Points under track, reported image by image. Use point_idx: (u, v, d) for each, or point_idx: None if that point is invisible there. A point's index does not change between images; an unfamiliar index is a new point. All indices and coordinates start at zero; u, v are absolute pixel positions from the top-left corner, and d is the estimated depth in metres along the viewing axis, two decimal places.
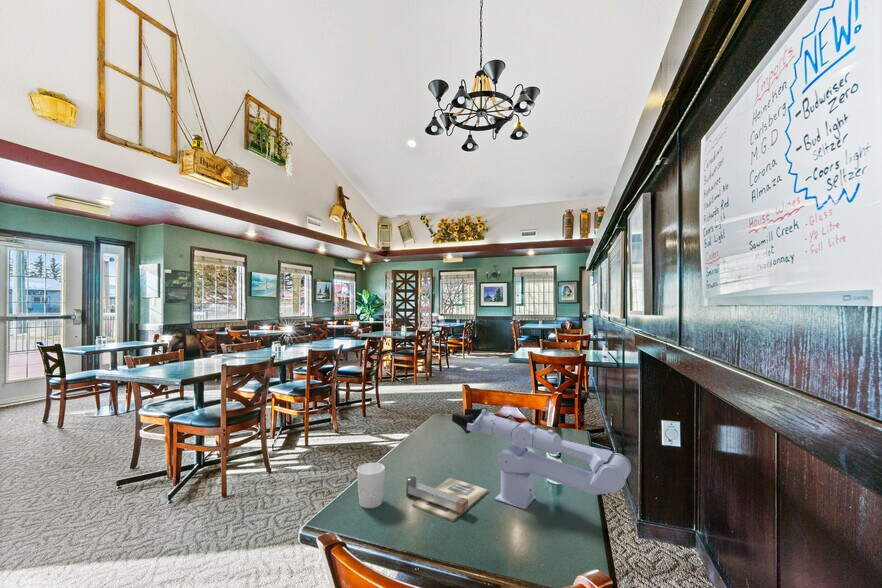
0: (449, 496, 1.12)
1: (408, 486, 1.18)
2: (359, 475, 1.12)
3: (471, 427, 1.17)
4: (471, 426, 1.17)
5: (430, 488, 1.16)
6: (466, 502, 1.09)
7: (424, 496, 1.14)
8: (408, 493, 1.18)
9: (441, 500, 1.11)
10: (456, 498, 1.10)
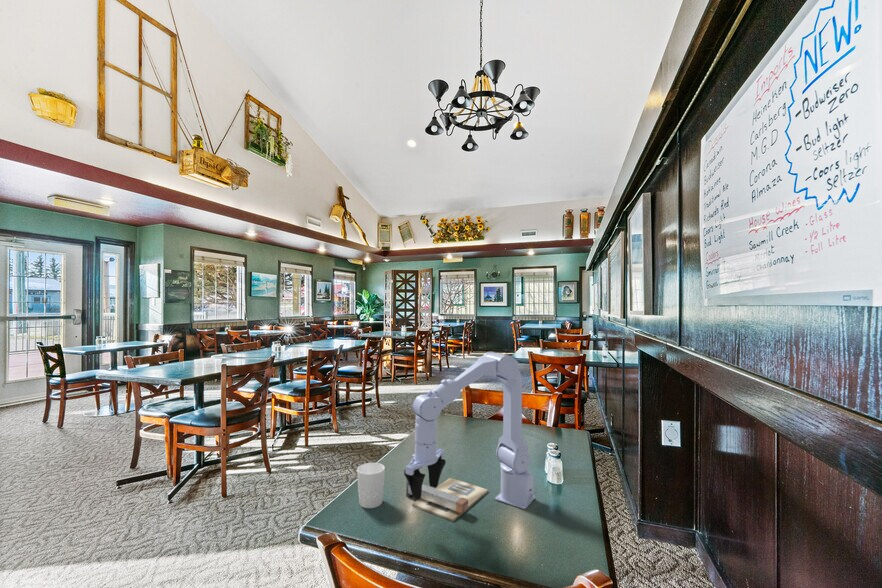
0: (449, 496, 1.12)
1: (408, 486, 1.18)
2: (359, 475, 1.12)
3: (407, 468, 0.99)
4: (406, 467, 0.99)
5: (430, 488, 1.16)
6: (466, 502, 1.09)
7: (424, 496, 1.14)
8: (408, 493, 1.18)
9: (441, 500, 1.11)
10: (456, 498, 1.10)
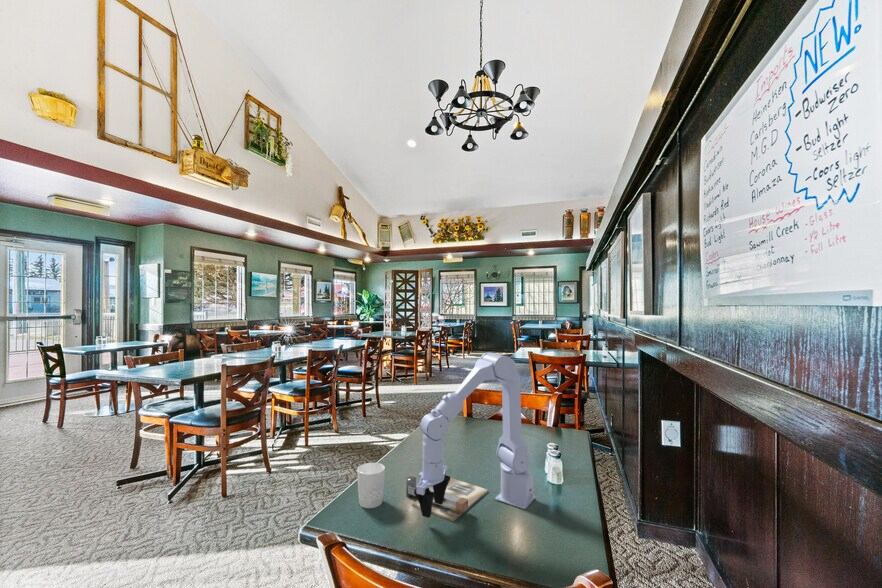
0: (449, 496, 1.12)
1: (408, 486, 1.18)
2: (359, 475, 1.12)
3: (419, 488, 1.01)
4: (418, 487, 1.01)
5: (430, 488, 1.16)
6: (466, 502, 1.09)
7: None
8: (408, 493, 1.18)
9: None
10: (456, 498, 1.10)
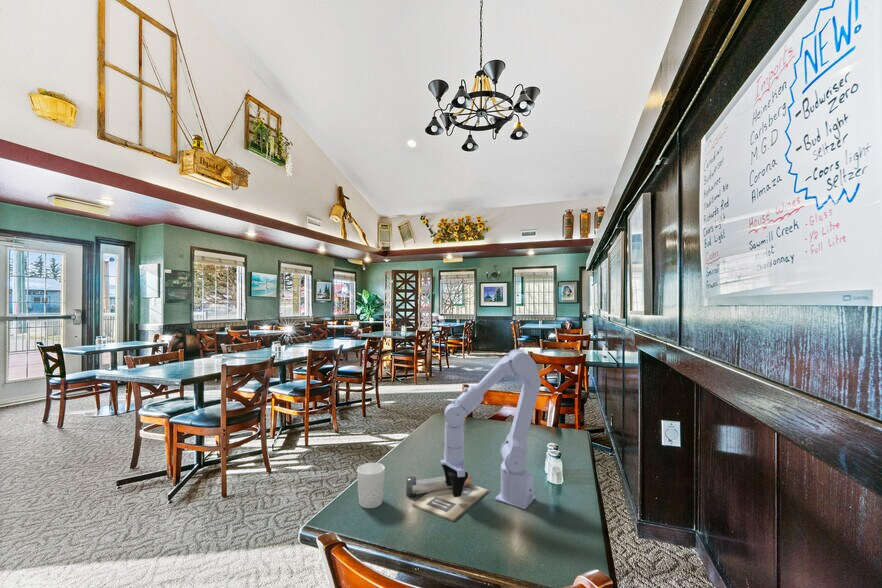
0: None
1: (412, 486, 1.18)
2: (359, 475, 1.12)
3: (461, 471, 1.10)
4: (460, 471, 1.10)
5: (430, 479, 1.22)
6: None
7: (431, 487, 1.20)
8: (412, 493, 1.18)
9: None
10: None
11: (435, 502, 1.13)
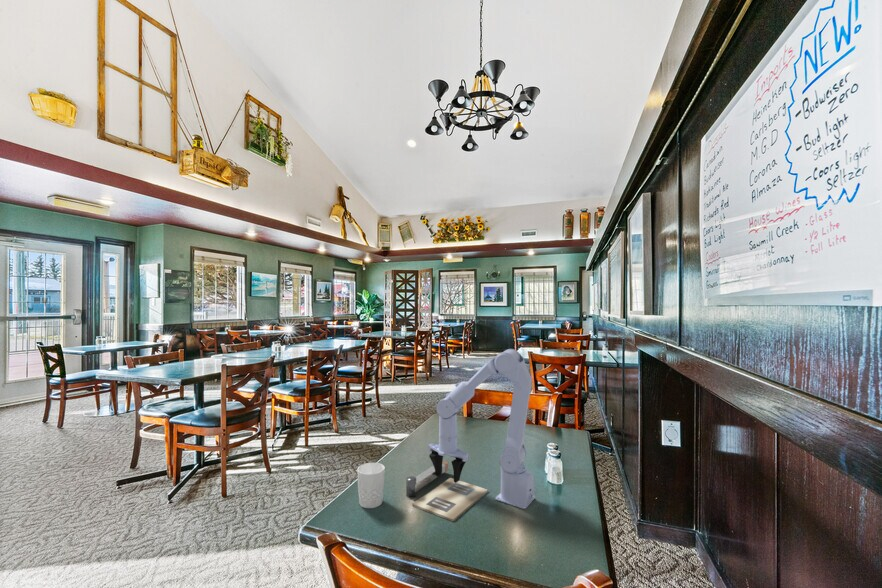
0: None
1: (415, 485, 1.18)
2: (359, 475, 1.12)
3: (466, 456, 1.21)
4: (466, 456, 1.21)
5: (421, 474, 1.25)
6: None
7: (426, 481, 1.23)
8: (415, 492, 1.18)
9: None
10: None
11: (435, 502, 1.13)
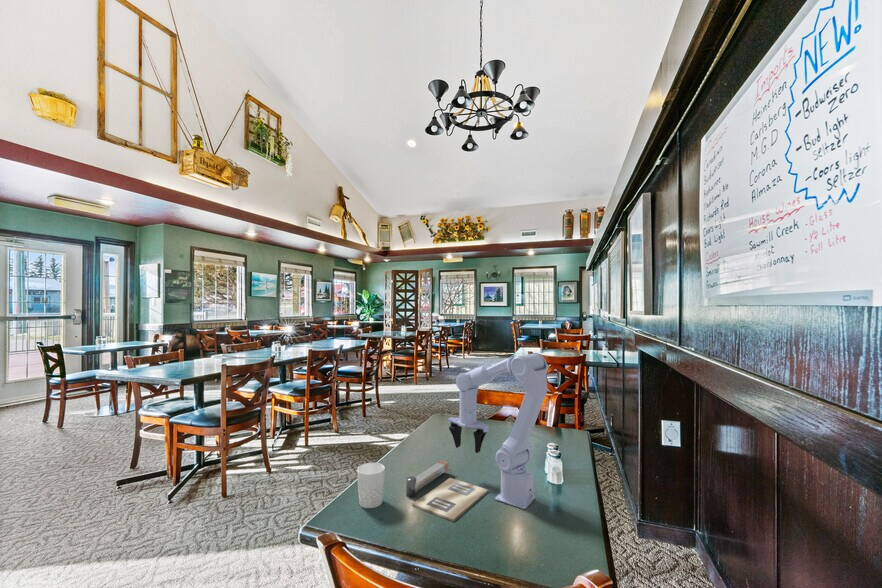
0: (435, 466, 1.31)
1: (415, 485, 1.18)
2: (359, 475, 1.12)
3: (487, 426, 1.27)
4: (486, 427, 1.27)
5: (421, 474, 1.25)
6: None
7: (426, 481, 1.23)
8: (415, 492, 1.18)
9: (437, 472, 1.28)
10: (438, 464, 1.33)
11: (435, 502, 1.13)
